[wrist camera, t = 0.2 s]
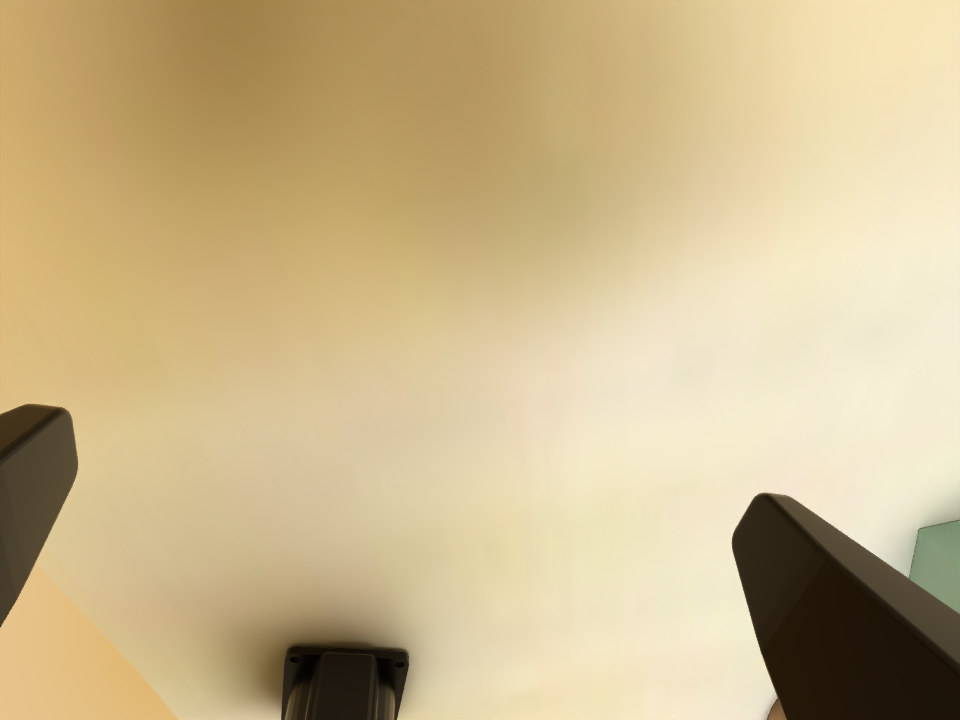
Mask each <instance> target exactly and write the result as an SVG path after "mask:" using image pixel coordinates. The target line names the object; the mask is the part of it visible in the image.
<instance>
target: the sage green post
mask: <svg viewBox="0 0 960 720" xmlns="http://www.w3.org/2000/svg"><path fill="white" fill-rule="evenodd" d="M909 579H910V580H912V581H913V582H915V583H916V584H917V585H919V586H920V587H922V588H923V589H925V590H926V591H928V592H929V593H930V594H932V595H933V596H935V597H936V598H938V599H939V600H941V601H942V602H943V603H945V604H946V605H948V606H949V607H951V608H952V609H954V610H955V611H957V612H958V613H959V614H960V520H958V521H954V522H949V523H945V524H940V525H935V526H931V527H926V528H922V529H919V533H918V538H917V542H916V547H915V552H914V557H913V562H912V567H911V571H910V576H909Z"/></svg>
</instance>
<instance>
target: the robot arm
mask: <svg viewBox="0 0 960 720" xmlns="http://www.w3.org/2000/svg"><path fill="white" fill-rule="evenodd" d="M77 470H78V457H77V450H76V443H75V436H74V429H73V422H72V418H71V415H70V413H69V411H67V410H66V409H64V408H62V407H55V406H47V405H39V404H25V405H23V406H20V407H17V408H15V409H12V410H10V411H8V412H5V413H3V414H0V627H1V625H2V623H3V622H4V620H5V619H6V617H7V615H8V614H9V612H10V610H11V609H12V607H13V605H14V604H15V602H16V600H17V598H18V596H19V594H20V593H21V591H22V589H23V587H24V585H25V583H26V581H27V579H28V577H29V575H30V573H31V571H32V569H33V567H34V564H35V562H36V560H37V558H38V556H39V554H40V552H41V550H42V548H43V546H44V544H45V542H46V540H47V537H48V535H49V533H50V531H51V529H52V527H53V525H54V523H55V521H56V519H57V517H58V515H59V513H60V510H61V508H62V506H63V504H64V502H65V500H66V498H67V496H68V494H69V492H70V490H71V488H72V486H73V483H74V481H75V478H76V475H77ZM732 550H733V554H734V557H735V561H736V565H737V568H738V572H739V576H740V579H741V583H742V587H743V590H744V594H745V598H746V601H747V605H748V608H749V612H750V616H751V619H752V623H753V627H754V630H755V634H756V637H757V641H758V644H759V647H760V651H761V654H762V656H763V659H764V662H765V665H766V668H767V670H768V673H769V676H770V678H771V681H772V684H773V686H774V689H775V692H776V694H777V697H778V700H779V702H780V705H781V707H782V710H783V713H784V715H785V718H786V720H960V614H959V613H958V612H957V611H955V610H954V609H952V608H951V607H949V606H948V605H946V604H945V603H943V602H942V601H941V600H939V599H938V598H936V597H935V596H933V595H932V594H930V593H929V592H928V591H926V590H925V589H923V588H922V587H920V586H919V585H917V584H916V583H915V582H913V581H912V580H910V579H909V578H907V577H906V576H904V575H903V574H902V573H900V572H899V571H897V570H896V569H894V568H893V567H891V566H890V565H889V564H887V563H886V562H884V561H883V560H881V559H880V558H878V557H877V556H875V555H874V554H873V553H871V552H870V551H868V550H867V549H865V548H864V547H862V546H861V545H860V544H858V543H857V542H855V541H854V540H852V539H851V538H849V537H848V536H847V535H845V534H844V533H842V532H841V531H839V530H838V529H836V528H835V527H834V526H832V525H831V524H829V523H828V522H826V521H825V520H823V519H822V518H821V517H819V516H818V515H816V514H815V513H813V512H812V511H810V510H809V509H807V508H806V507H805V506H803V505H802V504H800V503H799V502H797V501H796V500H794V499H793V498H791V497H789V496H786V495H781V494H773V493H760V494H758V495H757V496H755V497H754V498H753V500H752V501H751V503H750V505H749V507H748V508H747V510H746V512H745V513H744V515H743V517H742V519H741V520H740V522H739V524H738V525H737V527H736V529H735V531H734V533H733V537H732ZM408 667H409V656H408V654H406V653H403V652H389V651H369V650H350V649H330V648H310V647H292V648H289V649H288V650H287V652H286V656H285V665H284V682H283V698H282V714H281V720H397V717H398V712H399V708H400V703H401V699H402V694H403V690H404V685H405V681H406V676H407V672H408Z"/></svg>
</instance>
